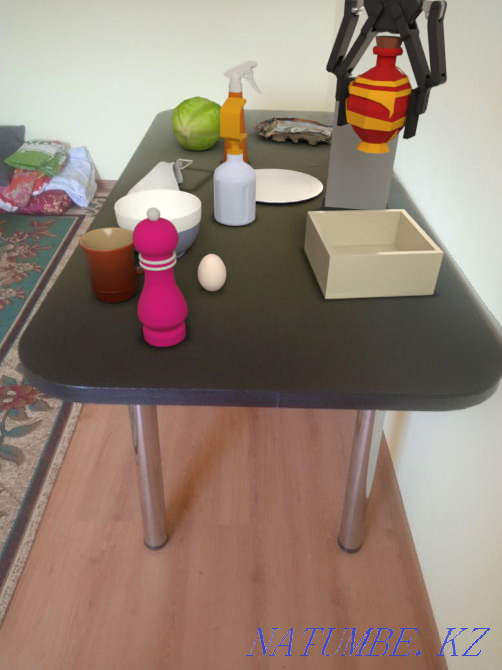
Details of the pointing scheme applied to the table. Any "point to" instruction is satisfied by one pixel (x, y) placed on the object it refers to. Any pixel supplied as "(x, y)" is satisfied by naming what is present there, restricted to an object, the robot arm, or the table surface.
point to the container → (356, 172)
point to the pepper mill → (159, 281)
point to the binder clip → (182, 163)
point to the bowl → (162, 213)
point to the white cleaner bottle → (234, 172)
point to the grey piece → (295, 130)
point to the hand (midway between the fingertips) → (374, 130)
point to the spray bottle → (236, 92)
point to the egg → (211, 272)
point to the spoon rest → (160, 178)
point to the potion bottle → (379, 98)
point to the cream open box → (371, 254)
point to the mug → (111, 263)
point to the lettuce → (197, 123)
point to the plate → (285, 186)
